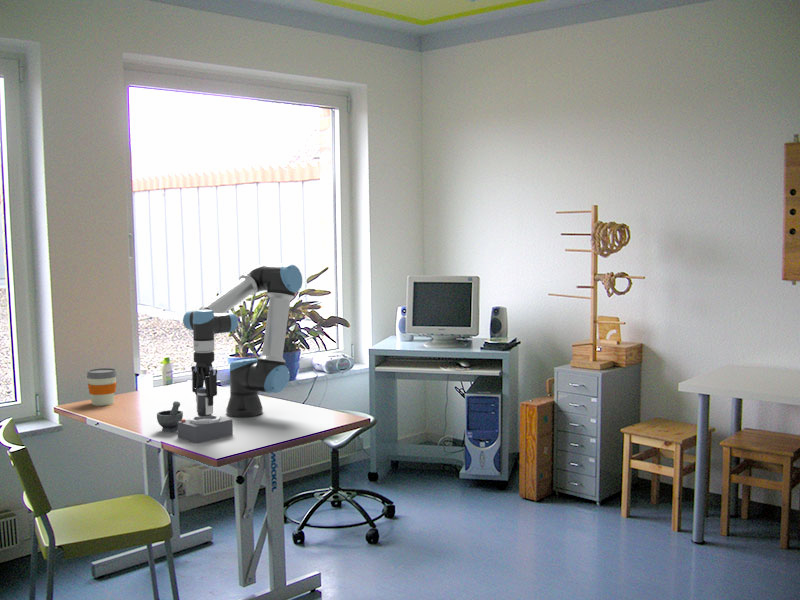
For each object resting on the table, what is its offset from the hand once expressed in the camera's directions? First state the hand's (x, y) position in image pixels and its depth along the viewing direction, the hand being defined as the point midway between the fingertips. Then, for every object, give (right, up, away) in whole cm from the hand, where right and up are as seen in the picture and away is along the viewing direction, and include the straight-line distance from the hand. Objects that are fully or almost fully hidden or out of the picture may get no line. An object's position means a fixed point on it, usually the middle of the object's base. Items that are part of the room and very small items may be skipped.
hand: (204, 412), depth 288 cm
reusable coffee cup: (-61, -4, +57) cm, 84 cm away
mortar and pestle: (-15, -8, +9) cm, 20 cm away
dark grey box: (0, -9, +1) cm, 9 cm away
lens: (0, -1, 0) cm, 1 cm away
